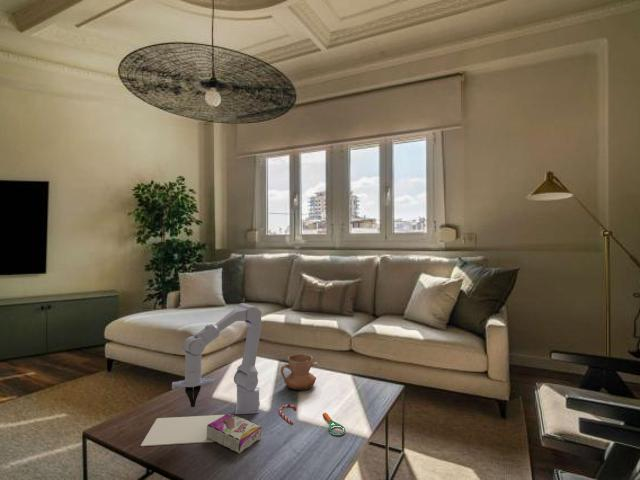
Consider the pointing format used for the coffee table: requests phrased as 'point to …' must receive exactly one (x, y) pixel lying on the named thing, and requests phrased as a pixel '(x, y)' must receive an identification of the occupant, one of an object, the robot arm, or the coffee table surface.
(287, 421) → the candy cane
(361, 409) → the coffee table surface
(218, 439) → the candy bar box
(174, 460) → the coffee table surface
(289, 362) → the ceramic jug
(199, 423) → the mat
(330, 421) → the magnifying glass
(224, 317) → the robot arm
